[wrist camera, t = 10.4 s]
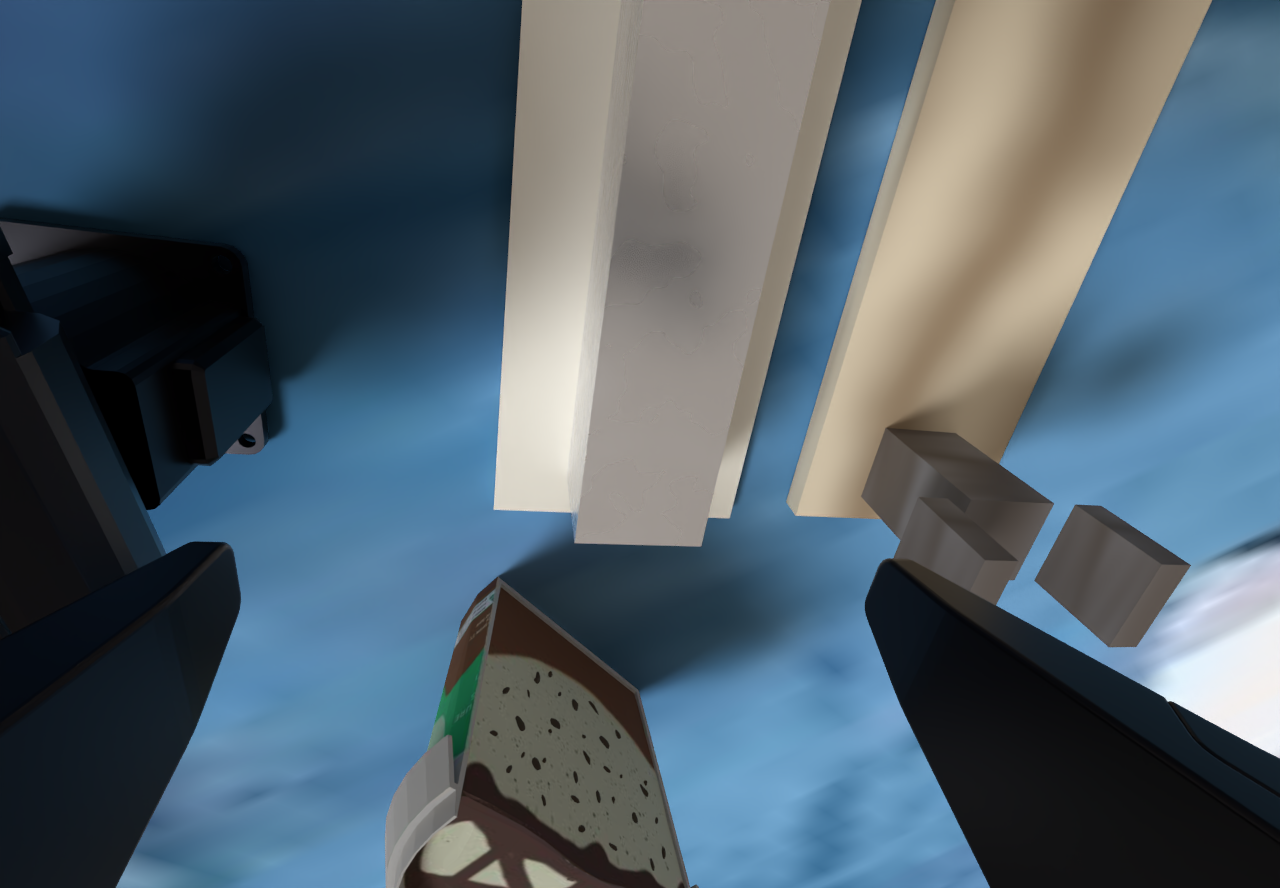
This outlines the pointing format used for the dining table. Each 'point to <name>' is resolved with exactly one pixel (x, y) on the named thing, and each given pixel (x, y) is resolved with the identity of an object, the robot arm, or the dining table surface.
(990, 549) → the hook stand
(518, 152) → the board
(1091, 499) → the dining table surface
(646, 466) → the rail
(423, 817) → the food container
